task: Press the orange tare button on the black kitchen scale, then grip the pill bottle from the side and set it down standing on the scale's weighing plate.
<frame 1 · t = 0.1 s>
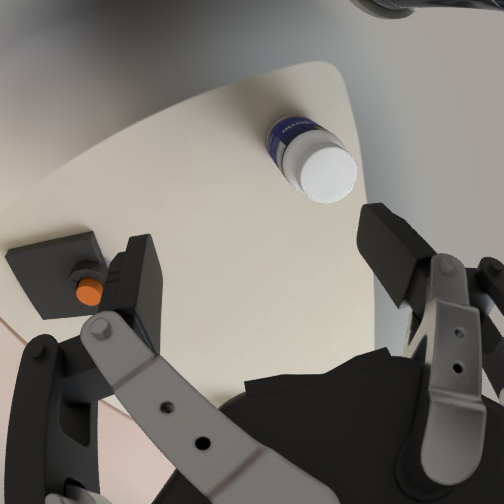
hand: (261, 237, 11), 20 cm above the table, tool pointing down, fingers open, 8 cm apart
scale: (64, 278, 34), on the table
pill bottle: (291, 139, 29), on the table
tare button: (89, 291, 32), point 3 cm above the table, slide at 0.1 cm
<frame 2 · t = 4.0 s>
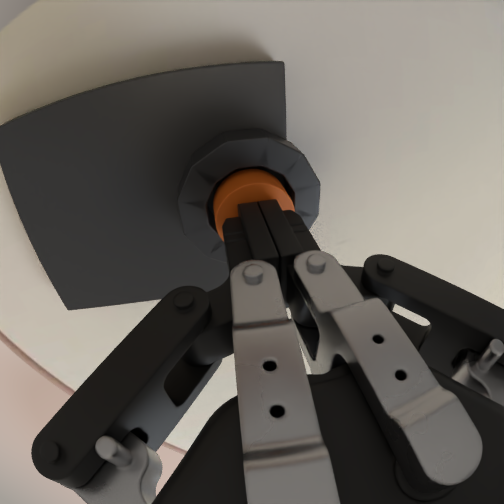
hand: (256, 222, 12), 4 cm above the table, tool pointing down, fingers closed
scale: (144, 195, 15), on the table
tare button: (252, 210, 13), point 3 cm above the table, slide at -0.1 cm, touching gripper
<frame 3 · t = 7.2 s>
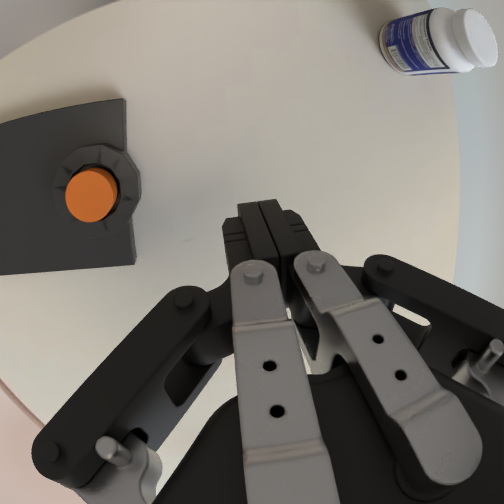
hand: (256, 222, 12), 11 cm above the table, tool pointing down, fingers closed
scale: (44, 192, 18), on the table
pill bottle: (398, 48, 20), on the table
tare button: (91, 194, 17), point 3 cm above the table, slide at 0.1 cm
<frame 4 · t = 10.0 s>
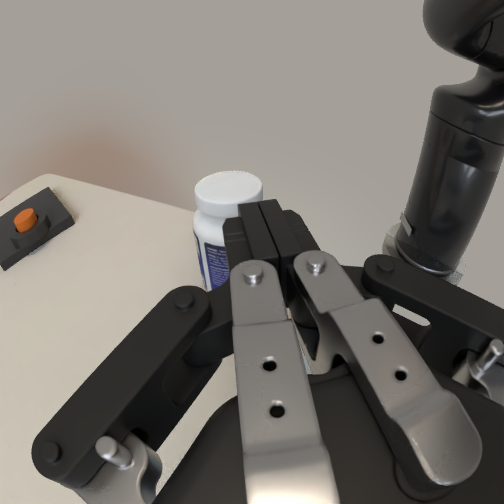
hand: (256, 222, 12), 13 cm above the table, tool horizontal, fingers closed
scale: (29, 226, 35), on the table
pill bottle: (236, 284, 27), on the table
tare button: (25, 220, 30), point 3 cm above the table, slide at 0.1 cm
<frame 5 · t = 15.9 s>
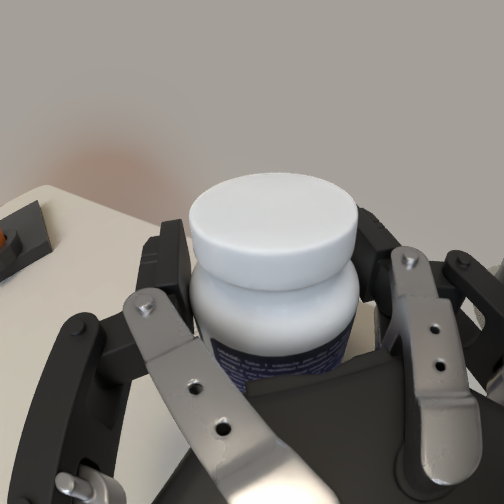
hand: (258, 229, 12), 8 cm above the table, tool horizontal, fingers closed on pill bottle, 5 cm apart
scale: (5, 248, 26), on the table
pill bottle: (274, 384, 14), on the table, touching gripper
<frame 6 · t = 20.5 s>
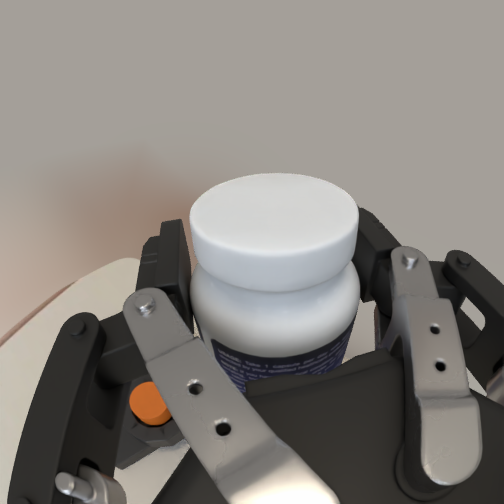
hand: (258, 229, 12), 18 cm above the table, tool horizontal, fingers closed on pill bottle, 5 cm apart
scale: (137, 380, 25), on the table
pill bottle: (274, 384, 14), point 10 cm above the table, touching gripper
tare button: (152, 403, 20), point 3 cm above the table, slide at 0.1 cm
when the fingers open (9 cm above the table, at t = 25.4 s): pill bottle stays where it is, resting on scale.
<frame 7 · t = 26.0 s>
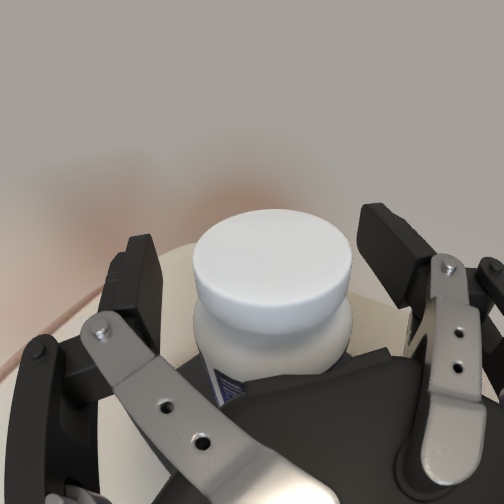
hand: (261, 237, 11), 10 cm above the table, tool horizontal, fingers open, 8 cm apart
scale: (285, 437, 14), on the table
pill bottle: (272, 399, 15), point 1 cm above the table, touching scale
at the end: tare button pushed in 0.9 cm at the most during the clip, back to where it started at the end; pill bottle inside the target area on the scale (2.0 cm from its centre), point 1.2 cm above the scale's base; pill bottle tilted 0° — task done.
